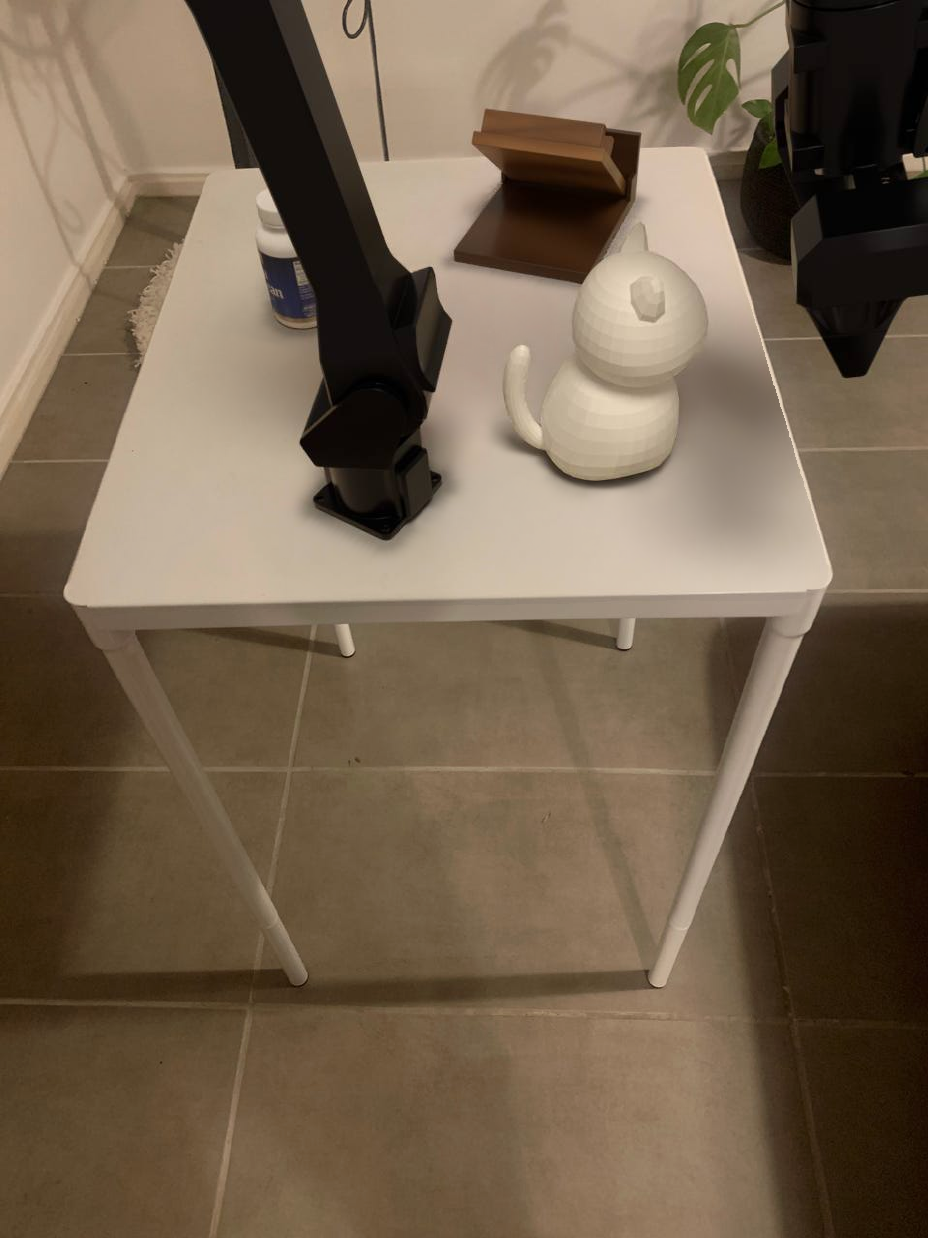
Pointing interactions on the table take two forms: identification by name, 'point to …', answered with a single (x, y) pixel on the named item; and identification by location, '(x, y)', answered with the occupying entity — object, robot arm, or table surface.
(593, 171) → the wooden letter rack
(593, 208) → the stand
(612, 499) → the table surface
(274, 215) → the pill bottle
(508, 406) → the cat figurine
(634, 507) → the table surface
